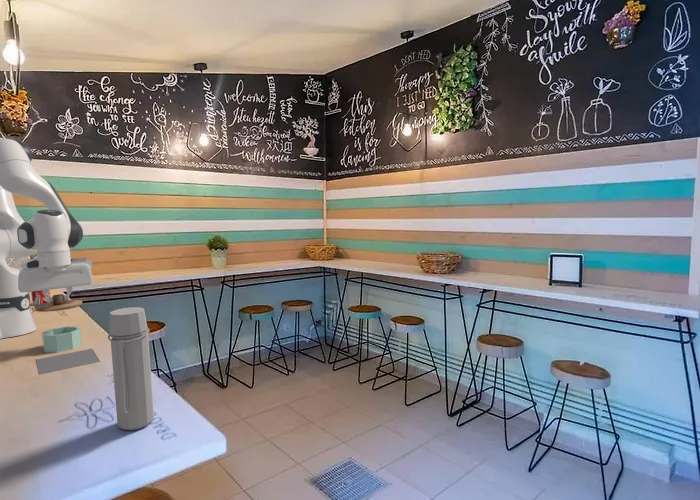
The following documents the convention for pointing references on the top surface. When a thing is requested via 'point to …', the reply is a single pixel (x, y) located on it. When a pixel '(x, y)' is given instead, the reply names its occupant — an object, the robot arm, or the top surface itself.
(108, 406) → the top surface
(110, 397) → the top surface
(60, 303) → the walnut lid
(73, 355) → the rubber mat
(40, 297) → the soda can
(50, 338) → the ceramic bowl
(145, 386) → the water bottle
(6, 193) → the robot arm
